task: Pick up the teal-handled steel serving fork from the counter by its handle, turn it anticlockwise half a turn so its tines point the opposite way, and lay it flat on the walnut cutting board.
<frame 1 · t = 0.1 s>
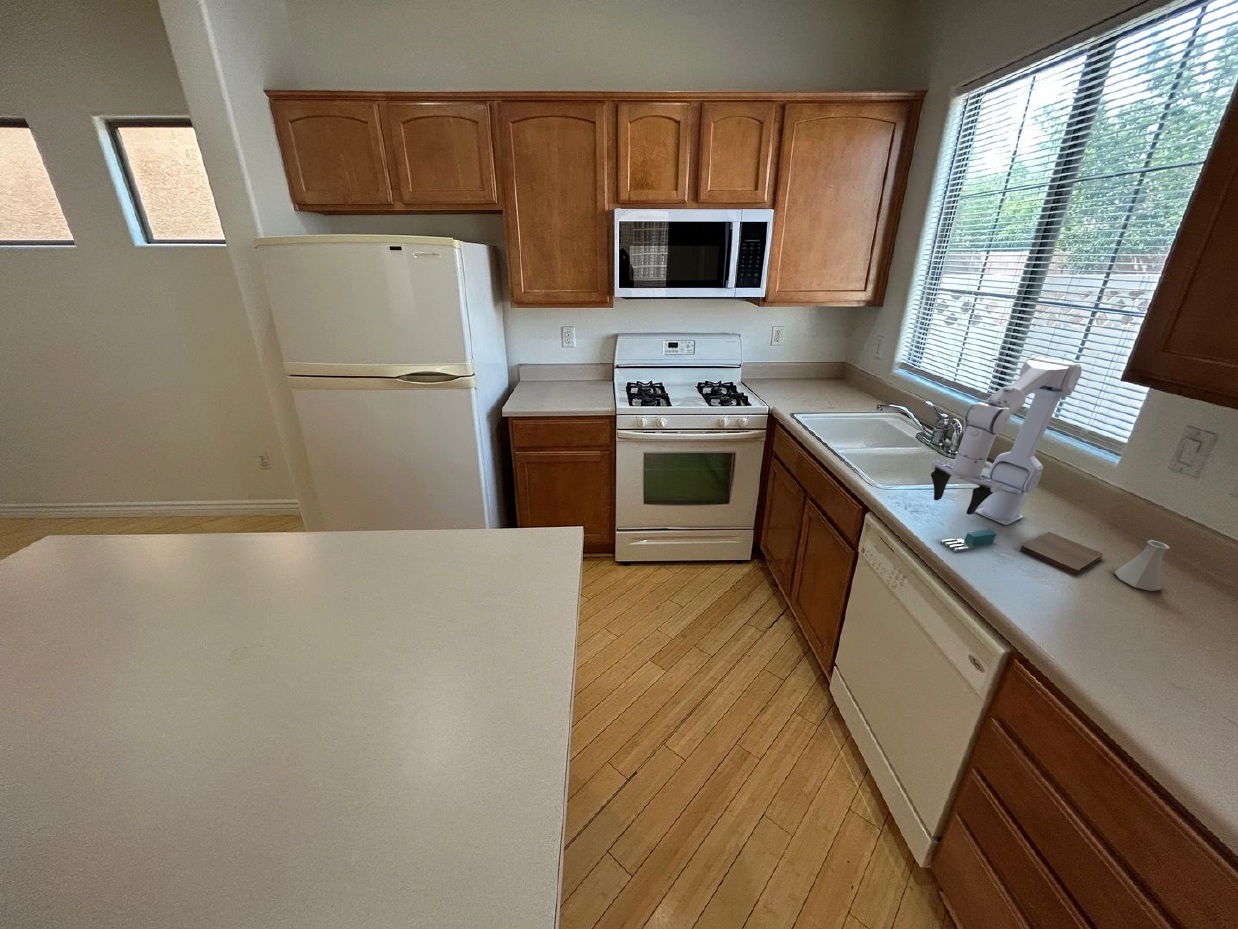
hand: (953, 506, 115), 10 cm above the counter, tool pointing down, fingers open, 7 cm apart
flask: (1135, 582, 106), on the counter
fork: (967, 544, 118), on the counter
cutting board: (1059, 554, 115), on the counter
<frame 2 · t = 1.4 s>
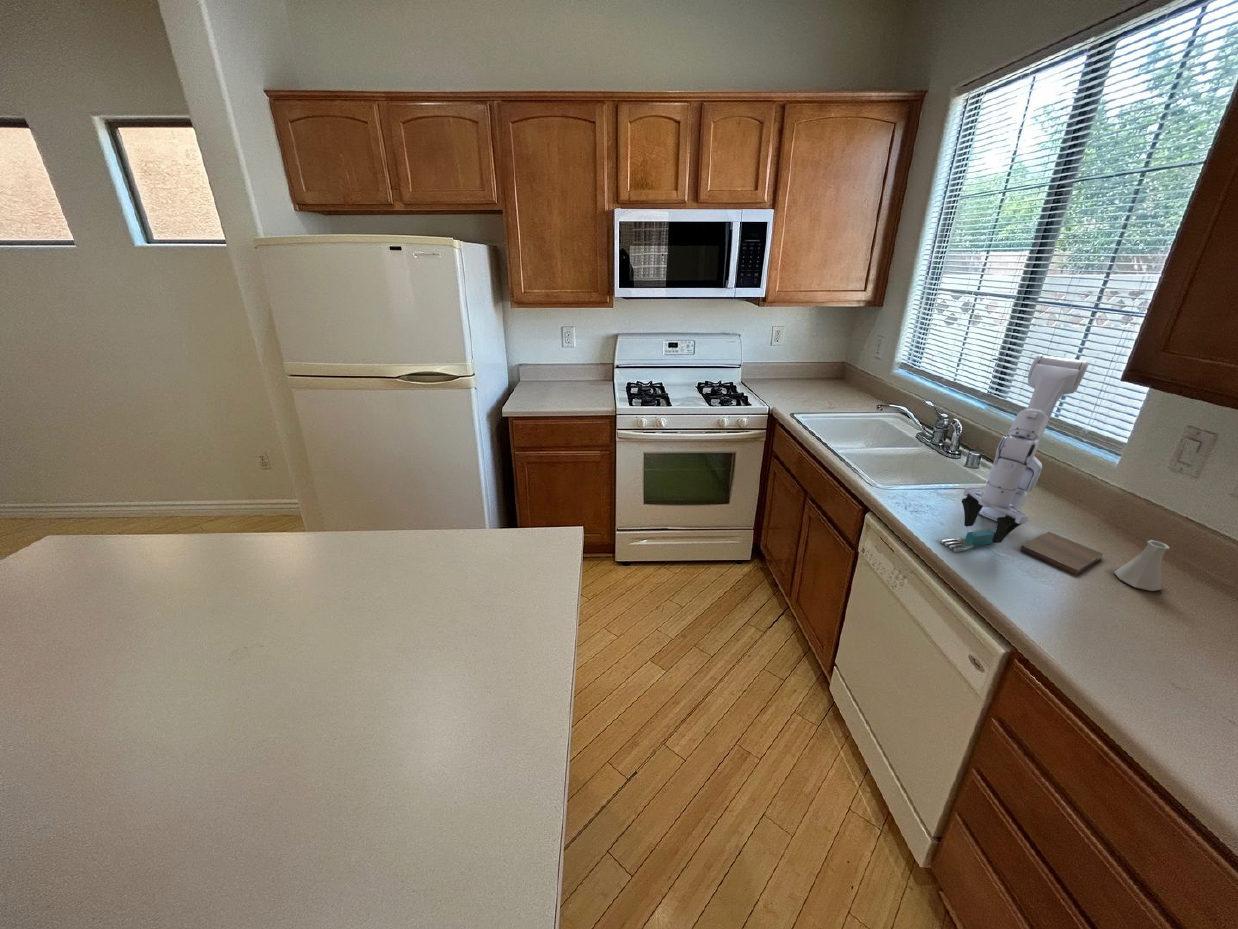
hand: (981, 533, 118), 3 cm above the counter, tool pointing down, fingers open, 7 cm apart
nothing on the counter moved.
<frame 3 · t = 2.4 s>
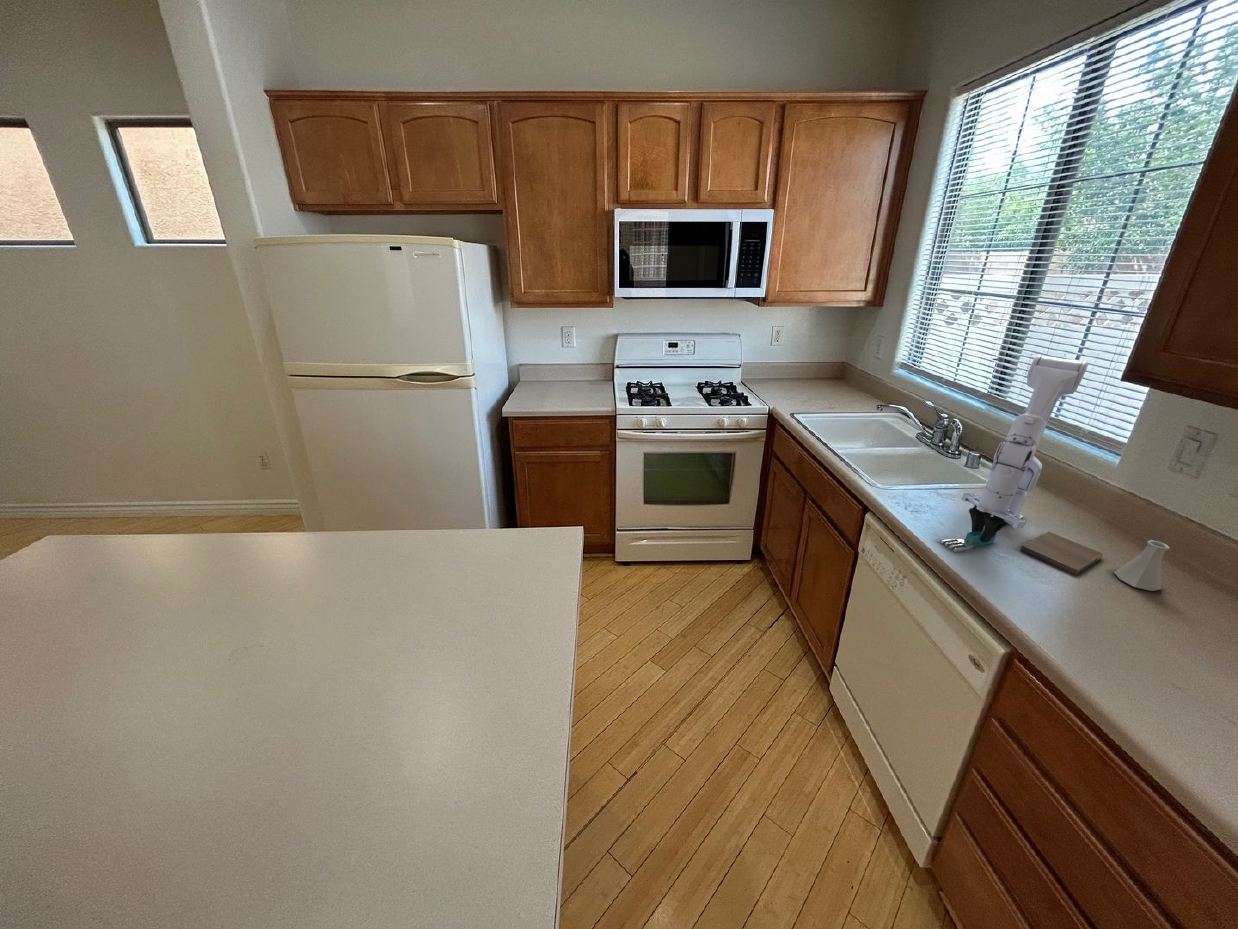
hand: (980, 538, 118), 1 cm above the counter, tool pointing down, fingers closed on fork, 2 cm apart
fork: (967, 544, 118), on the counter, touching gripper
everything else where it was.
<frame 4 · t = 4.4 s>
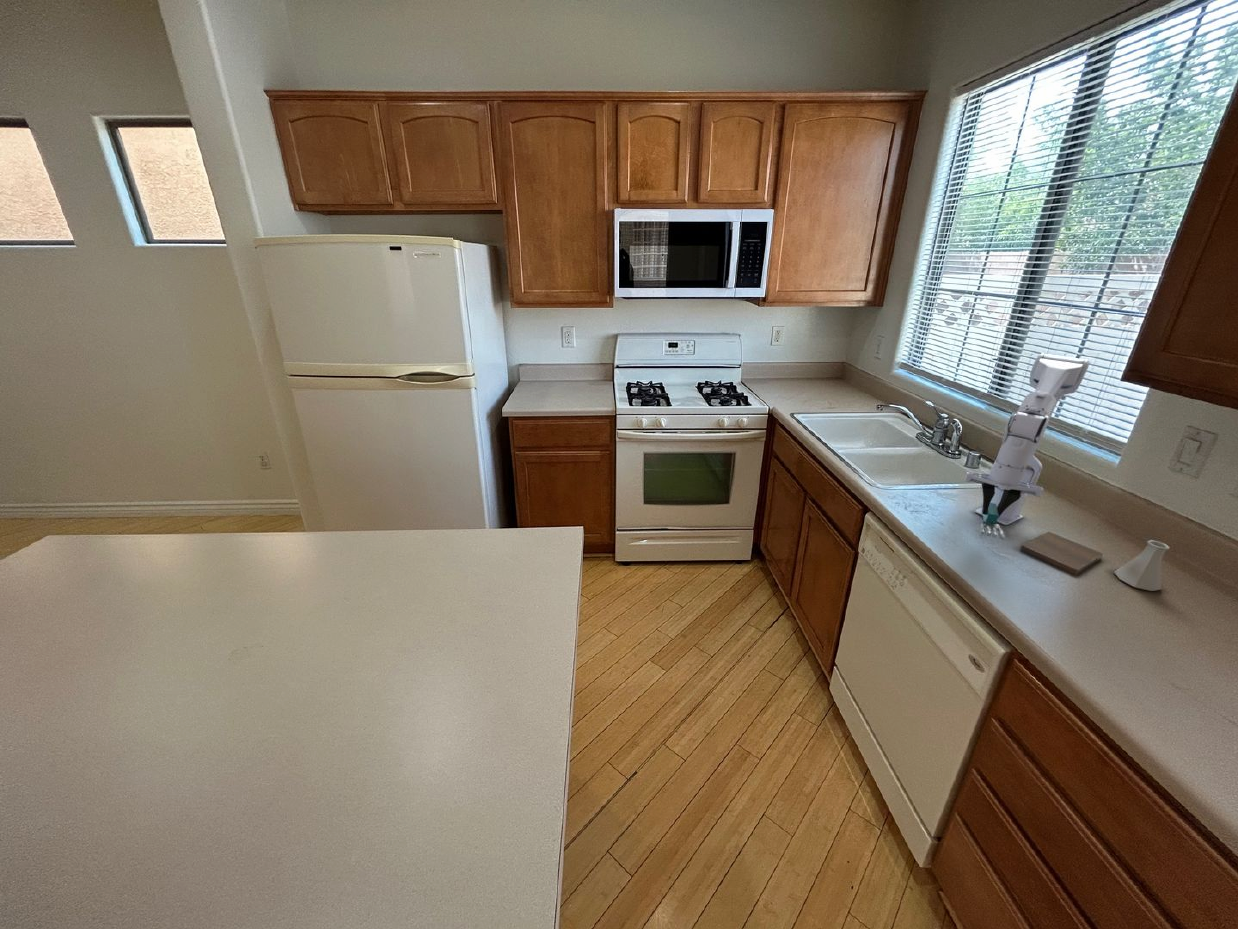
hand: (990, 514, 115), 8 cm above the counter, tool pointing down, fingers closed on fork
fork: (989, 525, 113), point 7 cm above the counter, touching gripper
everything else where it was.
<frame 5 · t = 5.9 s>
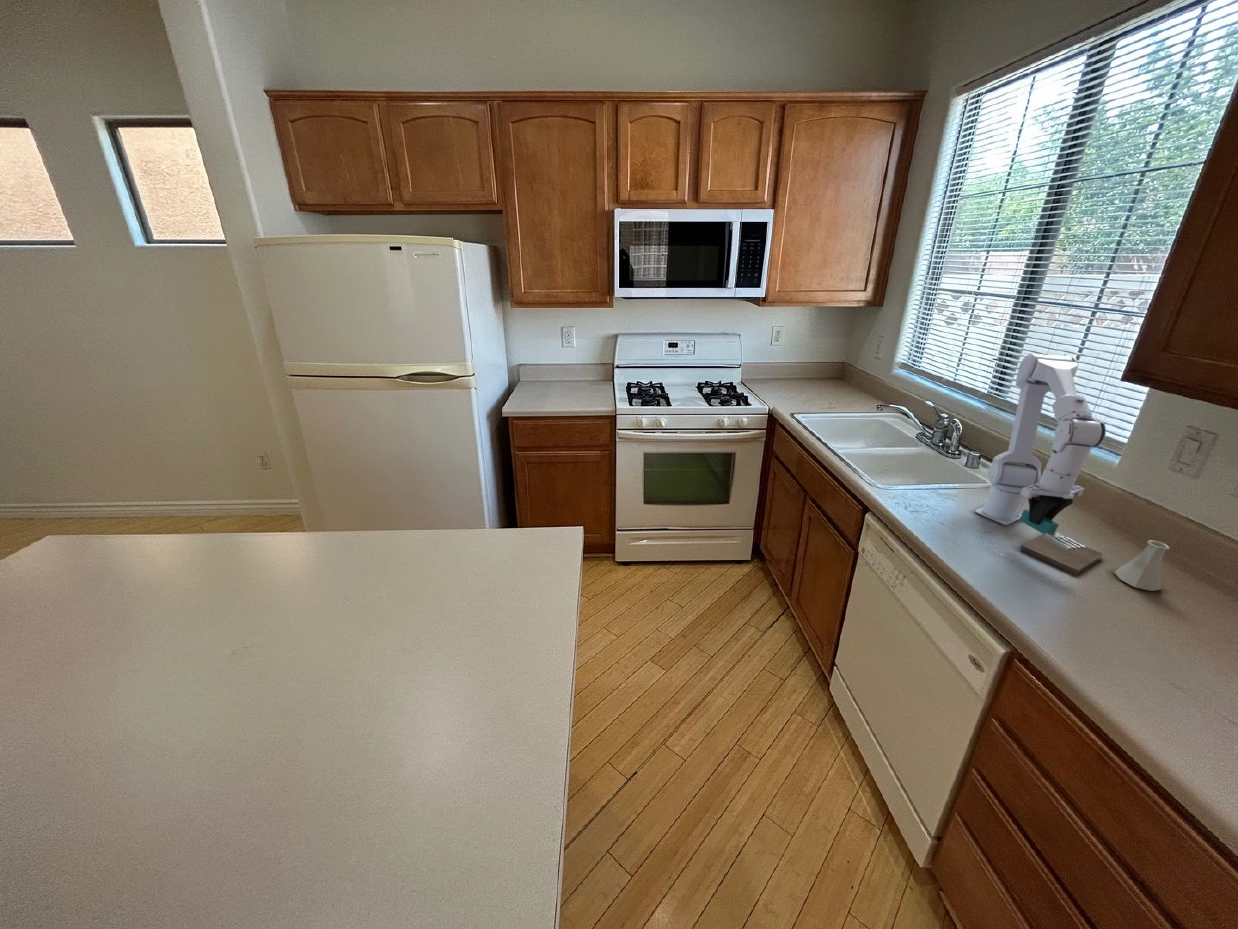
hand: (1038, 522, 112), 8 cm above the counter, tool pointing down, fingers closed on fork
fork: (1050, 535, 110), point 7 cm above the counter, touching gripper
everything else where it was.
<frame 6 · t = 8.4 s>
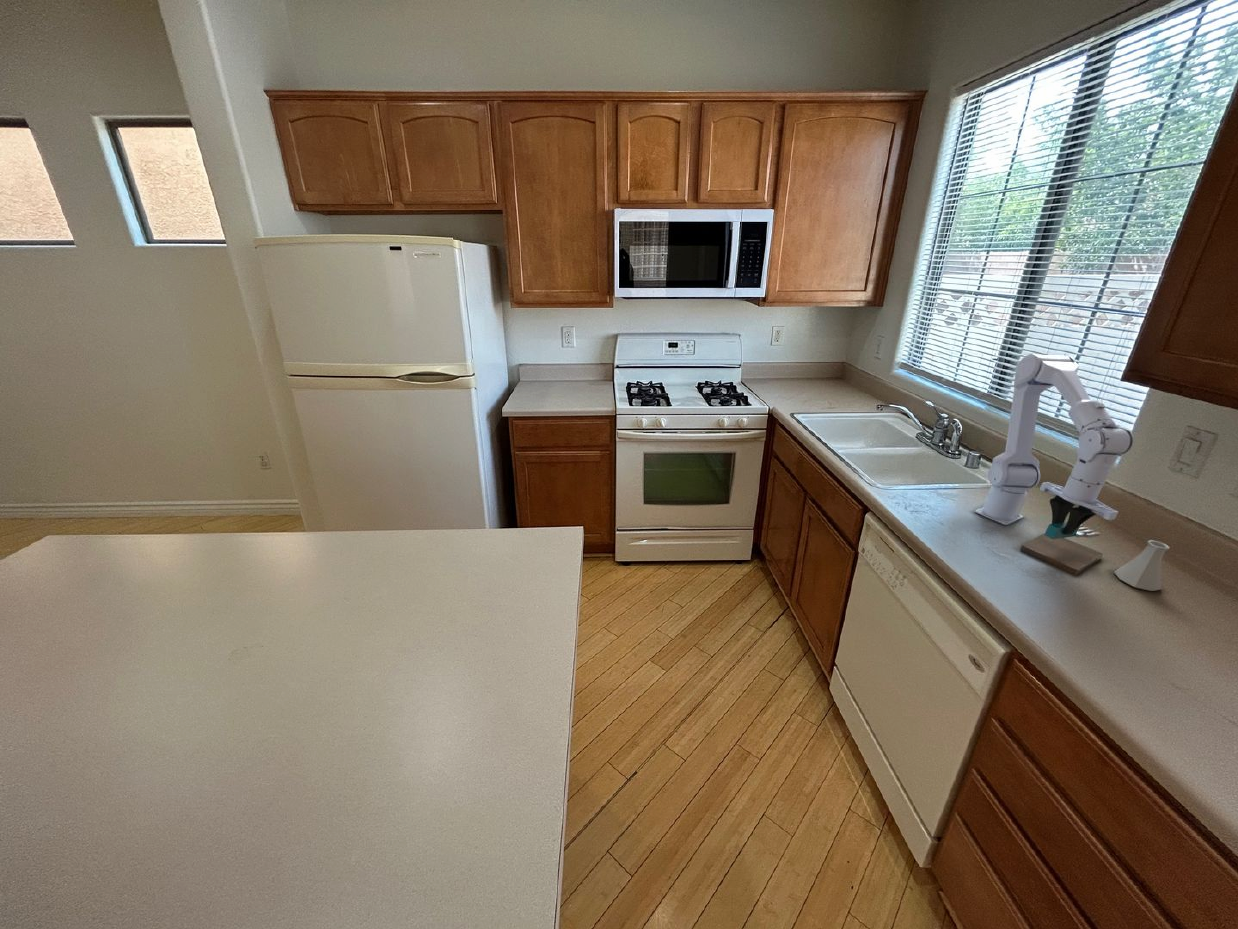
hand: (1061, 530, 111), 7 cm above the counter, tool pointing down, fingers closed on fork
fork: (1070, 534, 113), point 6 cm above the counter, touching gripper
everything else where it was.
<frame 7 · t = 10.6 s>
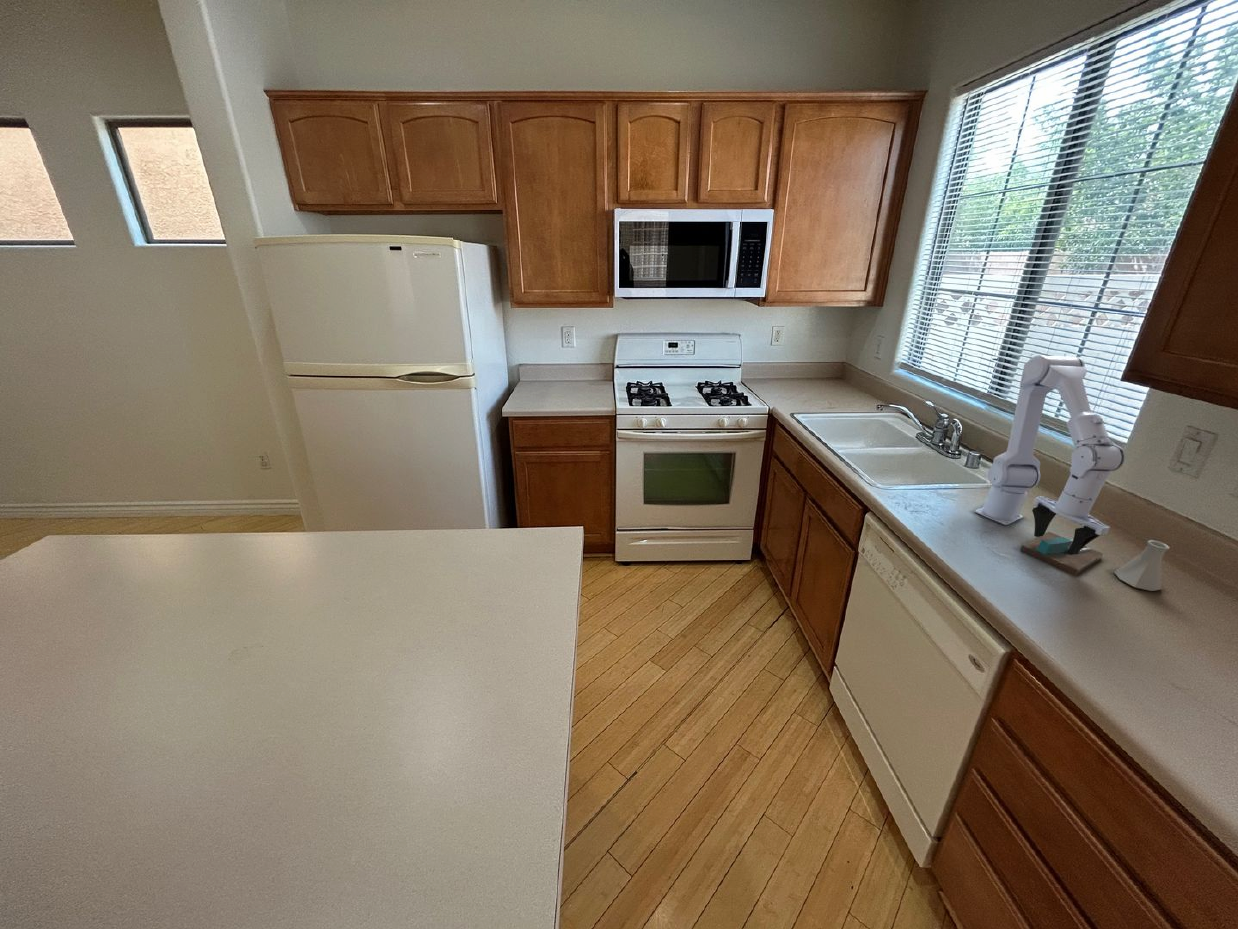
hand: (1054, 544, 113), 3 cm above the counter, tool pointing down, fingers open, 7 cm apart
fork: (1062, 549, 115), point 1 cm above the counter, touching cutting board
everything else where it was.
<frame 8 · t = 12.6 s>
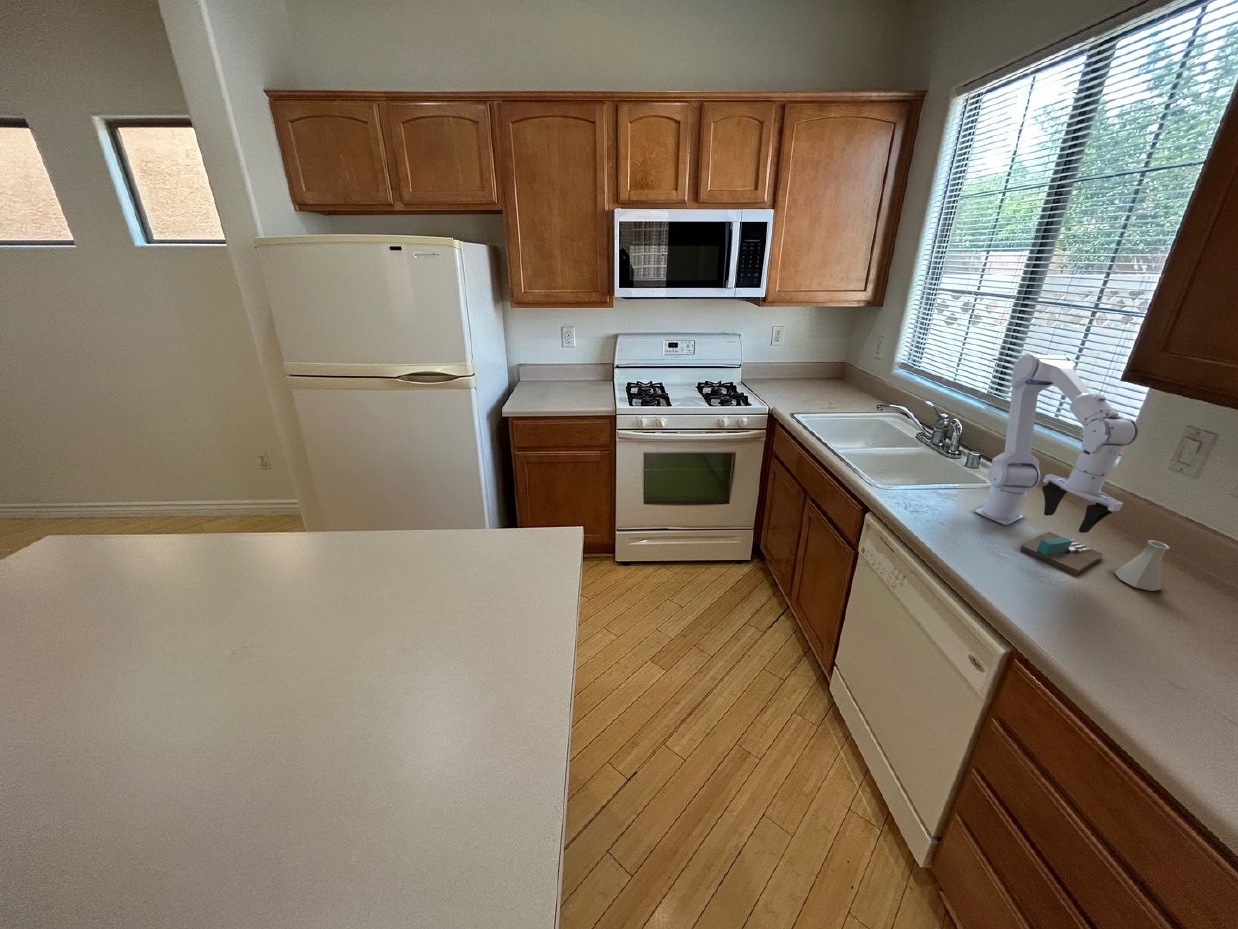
hand: (1065, 523, 111), 9 cm above the counter, tool pointing down, fingers open, 7 cm apart
nothing on the counter moved.
at the end: fork 0.1 cm off-centre on the cutting board, point 1.5 cm above the cutting board's base; fork tilted 0°; the gripper is holding nothing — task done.
